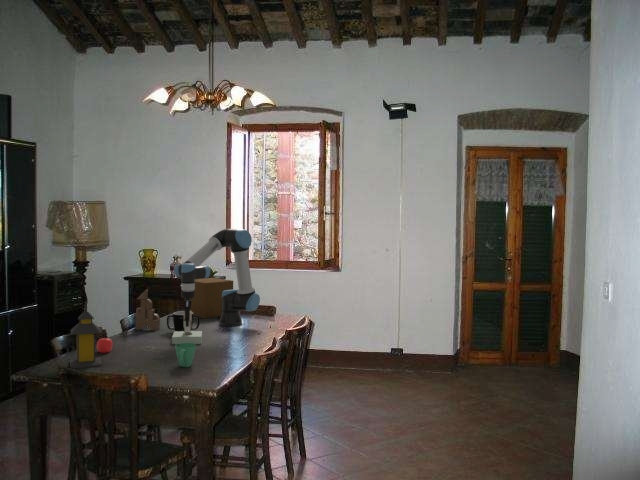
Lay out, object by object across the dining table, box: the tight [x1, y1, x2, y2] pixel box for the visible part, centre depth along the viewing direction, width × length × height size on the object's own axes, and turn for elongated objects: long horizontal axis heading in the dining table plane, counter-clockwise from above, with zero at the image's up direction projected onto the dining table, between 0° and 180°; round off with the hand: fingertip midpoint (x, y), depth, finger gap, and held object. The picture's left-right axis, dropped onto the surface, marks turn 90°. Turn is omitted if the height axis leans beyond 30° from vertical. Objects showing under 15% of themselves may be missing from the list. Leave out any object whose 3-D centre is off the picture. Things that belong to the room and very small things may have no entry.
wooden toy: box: [134, 289, 161, 332], centre depth 377 cm, size 15×7×25 cm, turn 81°
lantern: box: [69, 301, 103, 369], centre depth 289 cm, size 14×14×30 cm
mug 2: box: [174, 343, 197, 368], centre depth 287 cm, size 15×10×10 cm
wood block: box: [184, 277, 234, 320], centre depth 435 cm, size 25×25×25 cm
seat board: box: [171, 330, 203, 345], centre depth 345 cm, size 16×16×4 cm
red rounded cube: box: [96, 336, 114, 354], centre depth 315 cm, size 8×8×8 cm
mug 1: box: [166, 311, 201, 331], centre depth 369 cm, size 16×16×12 cm
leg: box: [183, 310, 192, 335], centre depth 345 cm, size 4×4×14 cm
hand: (187, 331), depth 345 cm, fingers closed on leg, 4 cm apart
